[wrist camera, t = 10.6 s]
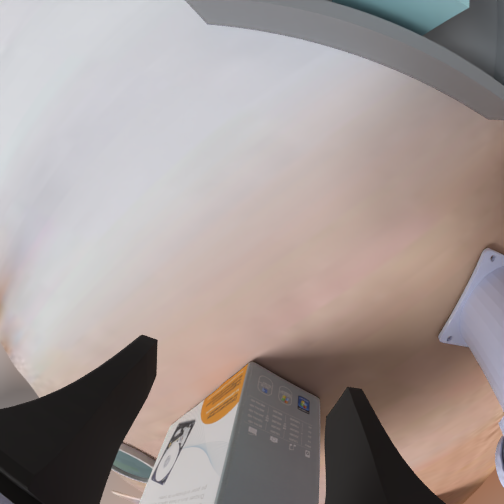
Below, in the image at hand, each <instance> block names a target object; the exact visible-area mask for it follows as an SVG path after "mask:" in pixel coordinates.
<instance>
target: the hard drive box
mask: <svg viewBox="0 0 504 504" xmlns="http://www.w3.org/2000/svg"><path fill="white" fill-rule="evenodd" d="M319 477H320V401H319V398H318V397H316V396H314V395H312V394H310V393H308V392H306V391H304V390H302V389H301V388H299V387H297V386H295V385H293V384H292V383H290V382H288V381H286V380H284V379H283V378H281V377H279V376H277V375H275V374H274V373H272V372H270V371H269V370H267V369H265V368H263V367H262V366H260V365H258V364H257V363H255V362H250V363H248V364H247V365H246V366H245V367H244V368H242V369H241V370H240V371H239V372H238V373H236V374H235V375H234V376H233V377H231V378H229V379H228V380H227V381H226V382H224V383H223V384H222V385H221V386H220V387H219V388H218V389H217V390H216V391H214V392H213V393H212V394H211V395H210V396H208V397H207V398H206V399H204V400H203V401H202V402H201V403H199V404H198V405H197V406H195V407H194V408H193V409H192V410H190V411H189V412H187V413H186V414H184V415H183V416H182V417H181V418H179V419H178V420H177V421H176V422H175V423H173V424H172V425H171V426H170V428H169V430H168V432H167V435H166V437H165V440H164V442H163V445H162V447H161V450H160V452H159V454H158V457H157V459H156V462H155V465H154V467H153V470H152V472H151V475H150V477H149V480H148V482H147V485H146V487H145V490H144V492H143V495H142V497H141V500H140V502H139V504H318V503H319Z"/></svg>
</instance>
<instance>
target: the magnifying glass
mask: <svg viewBox="0 0 504 504" xmlns="http://www.w3.org/2000/svg"><path fill="white" fill-rule="evenodd" d="M155 462H156V461H155V460H153V459H152V458H150V457H149V456H147V455H145V454H144V453H142V452H140V451H138V450H136V449H134V448H133V447H130V446H128V445H126V444H124V443H122V444H121V446H120V448H119V451H118V453H117V456H116V458H115V461H114V463H113V466H112V468H111V469H112V470H114V471H115V472H117V473H119V474H121V475H123V476H126V477H128V478H130V479H133V480H136V481H139V482H143V483H147V482H148V480H149V477H150V475H151V472H152V470H153V467H154V465H155Z"/></svg>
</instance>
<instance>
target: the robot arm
mask: <svg viewBox="0 0 504 504" xmlns="http://www.w3.org/2000/svg"><path fill="white" fill-rule="evenodd" d="M492 255H493V257H492V259H491V256H492ZM449 336H450V337H449ZM448 337H449V338H448ZM438 338H439V340H440V342H442V343H448V344H453V345H459V346H465V347H469V348H470V350H471V352H472V353H473V355H474V357H475V358H476V360H477V362H478V364H479V365H480V367H481V369H482V371H483V373H484V374H485V376H486V378H487V380H488V382H489V384H490V385H491V387H492V389H493V391H494V393H495V395H496V397H497V399H498V401H499V403H500V405H501V407H502V409H503V411H504V255H503V254H501V253H499V252H497V251H494V250H492V249H490V248H486V249H484V250H483V252H482V254H481V256H480V259H479V261H478V263H477V265H476V267H475V270H474V272H473V274H472V276H471V278H470V280H469V282H468V284H467V286H466V288H465V290H464V292H463V294H462V296H461V297H460V299H459V301H458V303H457V305H456V307H455V308H454V310H453V312H452V314H451V315H450V317H449V319H448V321H447V322H446V324H445V326H444V327H443V329H442V331H441V332H440V334H439V336H438ZM157 341H158V340H156V339H153V338H150V337H148V336H145V335H141V336H139V337H138V338H137V339H135V340H134V341H133V342H132V343H130V344H129V345H128V346H127V347H125V348H124V349H123V350H121V351H120V352H119V353H117V354H116V355H115V356H113V357H112V358H111V359H109V360H108V361H106V362H105V363H104V364H102V365H101V366H99V367H98V368H96V369H95V370H93V371H92V372H90V373H88V374H87V375H85V376H84V377H82V378H80V379H79V380H77V381H75V382H73V383H71V384H69V385H68V386H66V387H64V388H62V389H59V390H57V391H55V392H53V393H50V394H48V395H46V396H43V397H41V398H38V399H36V400H33V401H29V402H26V403H23V404H19V405H16V406H13V407H9V408H4V409H0V504H100V500H101V497H102V494H103V491H104V488H105V485H106V482H107V479H108V476H109V474H110V471H111V468H112V466H113V463H114V461H115V458H116V456H117V453H118V451H119V448H120V446H121V444H122V442H123V440H124V438H125V436H126V434H127V433H128V431H129V429H130V427H131V426H132V424H133V422H134V420H135V418H136V417H137V415H138V413H139V411H140V410H141V408H142V406H143V404H144V402H145V401H146V399H147V397H148V395H149V392H150V390H151V387H152V385H153V382H154V380H155V377H156V369H157ZM499 426H500V428H501V431H502V433H503V436H502V437H501V438H500V440H499V442H498V445H497V448H496V453H495V463H496V470H497V474H498V477H499V480H500V482H501V484H502V486H503V487H504V416H503V418H502V419H501V421H500V422H499ZM325 465H326V499H325V504H446V503H444V502H443V501H442V500H441V499H440V498H438V497H437V496H436V495H435V494H434V493H433V492H432V491H431V490H430V489H429V488H428V487H427V486H426V485H425V484H424V483H423V482H422V481H421V480H420V479H419V478H418V477H417V476H416V474H415V473H414V472H413V471H412V469H411V468H410V467H409V466H408V464H407V463H406V462H405V461H404V459H403V458H402V456H401V455H400V454H399V452H398V450H397V449H396V447H395V446H394V444H393V443H392V441H391V440H390V438H389V437H388V435H387V433H386V432H385V430H384V428H383V426H382V425H381V423H380V421H379V419H378V418H377V416H376V414H375V412H374V410H373V409H372V407H371V405H370V403H369V401H368V399H367V398H366V396H365V394H364V392H363V391H362V389H358V388H351V387H347V388H346V390H345V391H344V393H343V394H342V396H341V397H340V399H339V400H338V402H337V403H336V404H335V406H334V407H333V409H332V410H331V411H330V413H329V414H328V416H327V417H326V427H325Z"/></svg>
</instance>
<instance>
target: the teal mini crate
mask: <svg viewBox="0 0 504 504" xmlns="http://www.w3.org/2000/svg"><path fill="white" fill-rule="evenodd" d="M332 2H334V3H337V4H341V5H344V6H347V7H350V8H354V9H357V10H360V11H363V12H365V13H368V14H371V15H374V16H377V17H379V18H382V19H384V20H387V21H389V22H392V23H394V24H397V25H399V26H401V27H404V28H406V29H408V30H410V31H412V32H415V33H417V34H419V35H421V36H423V35H424V34H426V33H427V32H429V31H431V30H432V29H434V28H435V27H437V26H439V25H440V24H442V23H444V22H445V21H447V20H449V19H450V18H452V17H454V16H455V15H457V14H459V13H461V12H462V11H464V10H466V9H468V8H469V0H332Z"/></svg>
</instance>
